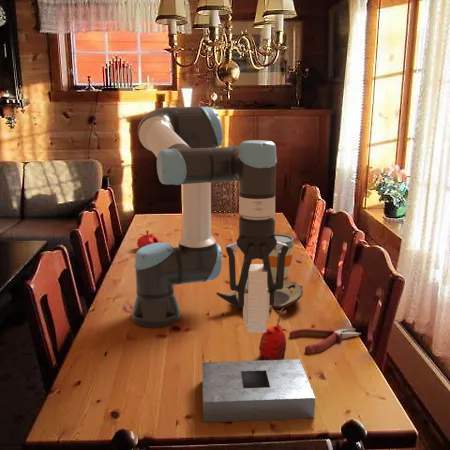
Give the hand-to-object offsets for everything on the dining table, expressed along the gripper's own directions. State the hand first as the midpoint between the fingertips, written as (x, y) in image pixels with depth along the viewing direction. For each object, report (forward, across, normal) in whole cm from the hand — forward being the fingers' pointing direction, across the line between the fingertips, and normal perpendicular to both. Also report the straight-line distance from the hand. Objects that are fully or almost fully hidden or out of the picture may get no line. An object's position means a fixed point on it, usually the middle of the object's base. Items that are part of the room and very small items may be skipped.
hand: (255, 318), depth 109 cm
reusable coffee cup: (+20, +18, +80) cm, 85 cm away
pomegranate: (+20, -35, +116) cm, 123 cm away
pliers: (+21, +24, +26) cm, 41 cm away
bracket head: (+20, 0, 0) cm, 20 cm away
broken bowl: (+20, +8, +53) cm, 57 cm away
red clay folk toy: (+20, +7, +18) cm, 28 cm away
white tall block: (+2, 0, 0) cm, 2 cm away
